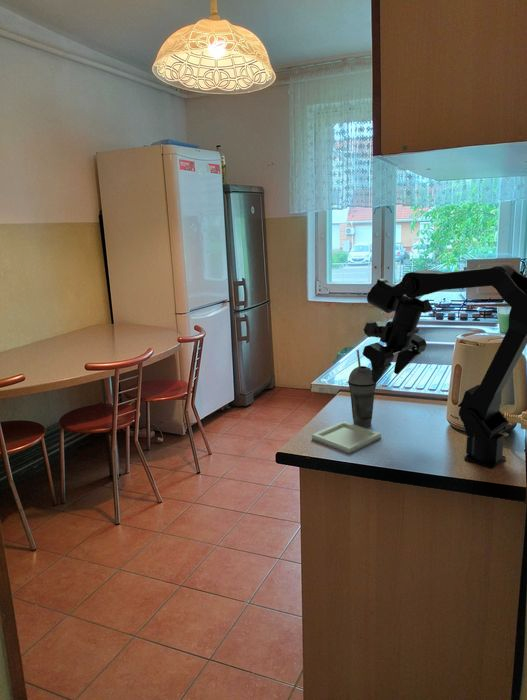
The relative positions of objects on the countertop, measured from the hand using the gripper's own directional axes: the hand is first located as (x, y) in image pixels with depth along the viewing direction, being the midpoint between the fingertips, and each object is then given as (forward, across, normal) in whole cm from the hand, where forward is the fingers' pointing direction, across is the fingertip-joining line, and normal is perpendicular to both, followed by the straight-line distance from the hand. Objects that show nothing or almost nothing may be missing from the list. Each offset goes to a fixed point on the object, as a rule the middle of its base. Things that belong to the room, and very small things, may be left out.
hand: (385, 377), depth 130 cm
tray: (+14, +11, +1) cm, 18 cm away
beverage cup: (+15, +1, -1) cm, 15 cm away
